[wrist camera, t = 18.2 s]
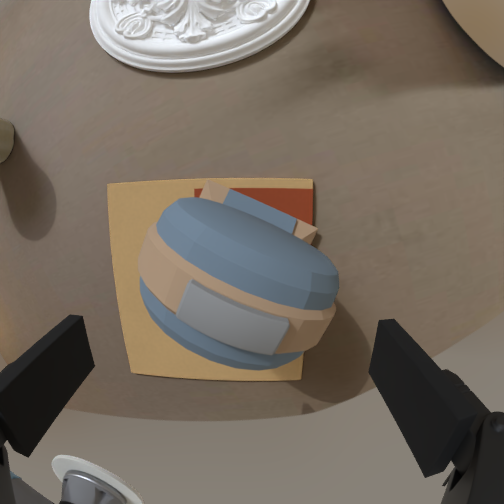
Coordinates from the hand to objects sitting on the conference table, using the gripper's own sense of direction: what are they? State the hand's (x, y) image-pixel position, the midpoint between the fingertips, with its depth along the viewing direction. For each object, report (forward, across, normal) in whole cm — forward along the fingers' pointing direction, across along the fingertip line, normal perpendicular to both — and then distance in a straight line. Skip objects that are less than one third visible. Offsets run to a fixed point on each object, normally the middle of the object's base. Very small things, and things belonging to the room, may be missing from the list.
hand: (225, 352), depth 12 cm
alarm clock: (+20, 0, 0) cm, 20 cm away
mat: (+20, -4, -5) cm, 21 cm away
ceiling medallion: (+20, -6, +33) cm, 40 cm away
